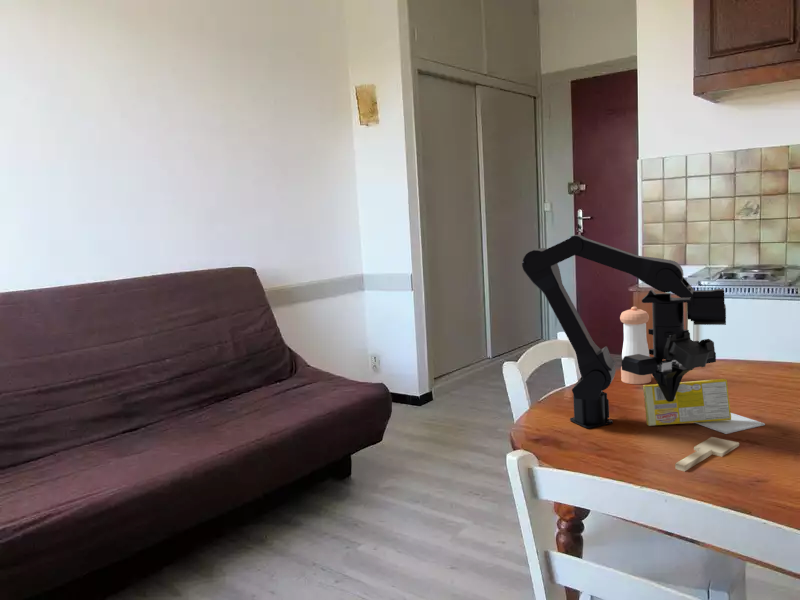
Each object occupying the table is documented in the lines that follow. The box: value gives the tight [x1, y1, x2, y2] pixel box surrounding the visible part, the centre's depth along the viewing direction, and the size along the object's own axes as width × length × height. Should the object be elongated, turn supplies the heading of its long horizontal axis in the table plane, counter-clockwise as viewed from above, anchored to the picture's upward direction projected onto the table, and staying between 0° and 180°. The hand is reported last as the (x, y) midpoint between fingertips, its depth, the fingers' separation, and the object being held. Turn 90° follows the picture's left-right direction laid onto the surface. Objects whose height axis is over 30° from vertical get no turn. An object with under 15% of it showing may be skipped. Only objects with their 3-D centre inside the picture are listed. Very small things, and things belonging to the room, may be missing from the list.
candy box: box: [642, 378, 732, 427], centre depth 132 cm, size 16×2×8 cm, turn 84°
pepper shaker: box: [619, 306, 652, 385], centre depth 165 cm, size 7×7×19 cm
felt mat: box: [693, 412, 766, 435], centre depth 134 cm, size 10×16×1 cm, turn 20°
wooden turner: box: [674, 436, 740, 472], centre depth 116 cm, size 17×5×1 cm, turn 130°
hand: (669, 401), depth 130 cm, fingers closed
